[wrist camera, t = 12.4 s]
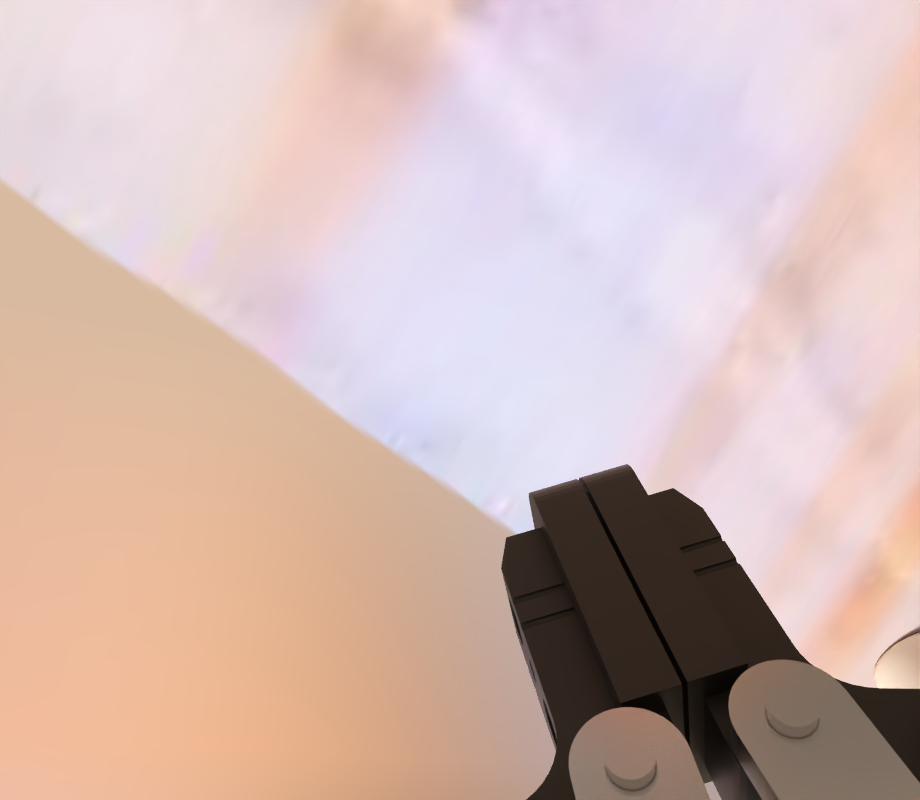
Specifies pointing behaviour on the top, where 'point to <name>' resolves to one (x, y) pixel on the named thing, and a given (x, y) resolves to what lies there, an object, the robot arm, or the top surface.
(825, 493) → the top surface
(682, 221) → the top surface
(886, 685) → the milk bottle
